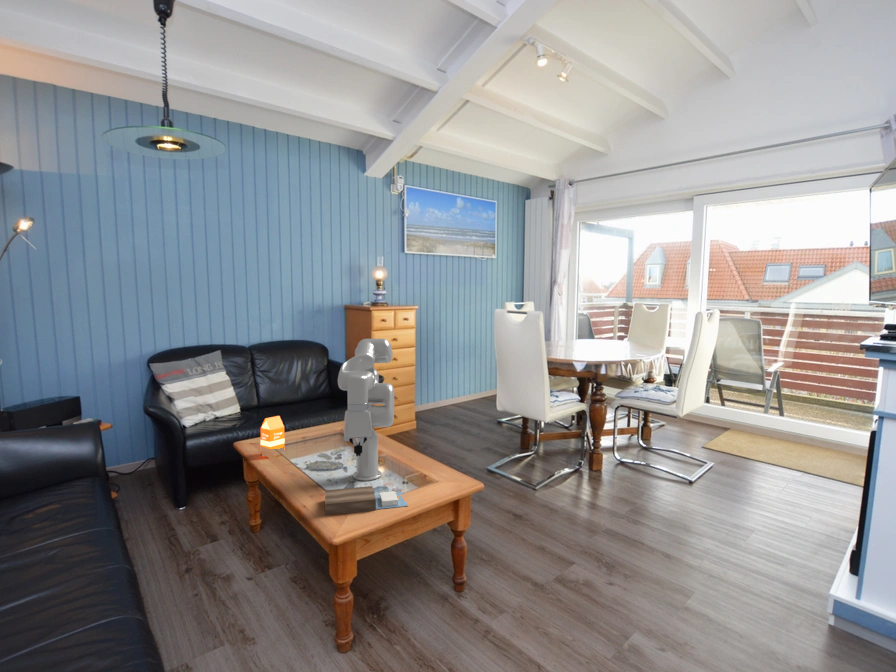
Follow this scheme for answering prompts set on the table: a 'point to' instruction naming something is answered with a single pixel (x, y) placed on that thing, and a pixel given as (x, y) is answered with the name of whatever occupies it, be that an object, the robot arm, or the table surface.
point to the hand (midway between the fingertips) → (358, 454)
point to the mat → (400, 504)
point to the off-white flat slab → (388, 498)
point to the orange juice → (272, 433)
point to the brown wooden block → (349, 500)
